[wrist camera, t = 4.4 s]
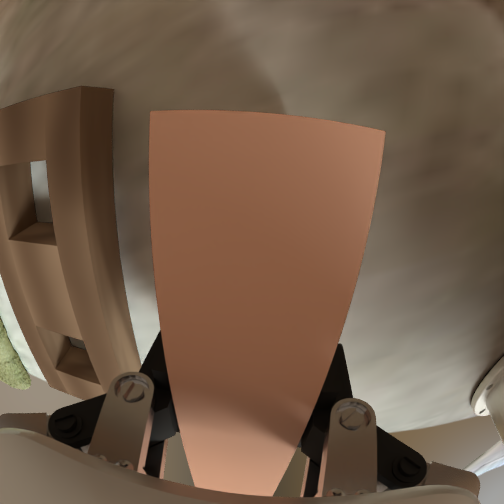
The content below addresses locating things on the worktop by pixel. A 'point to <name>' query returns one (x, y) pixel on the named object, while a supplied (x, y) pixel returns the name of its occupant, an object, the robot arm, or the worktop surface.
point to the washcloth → (11, 364)
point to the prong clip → (254, 276)
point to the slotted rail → (65, 240)
